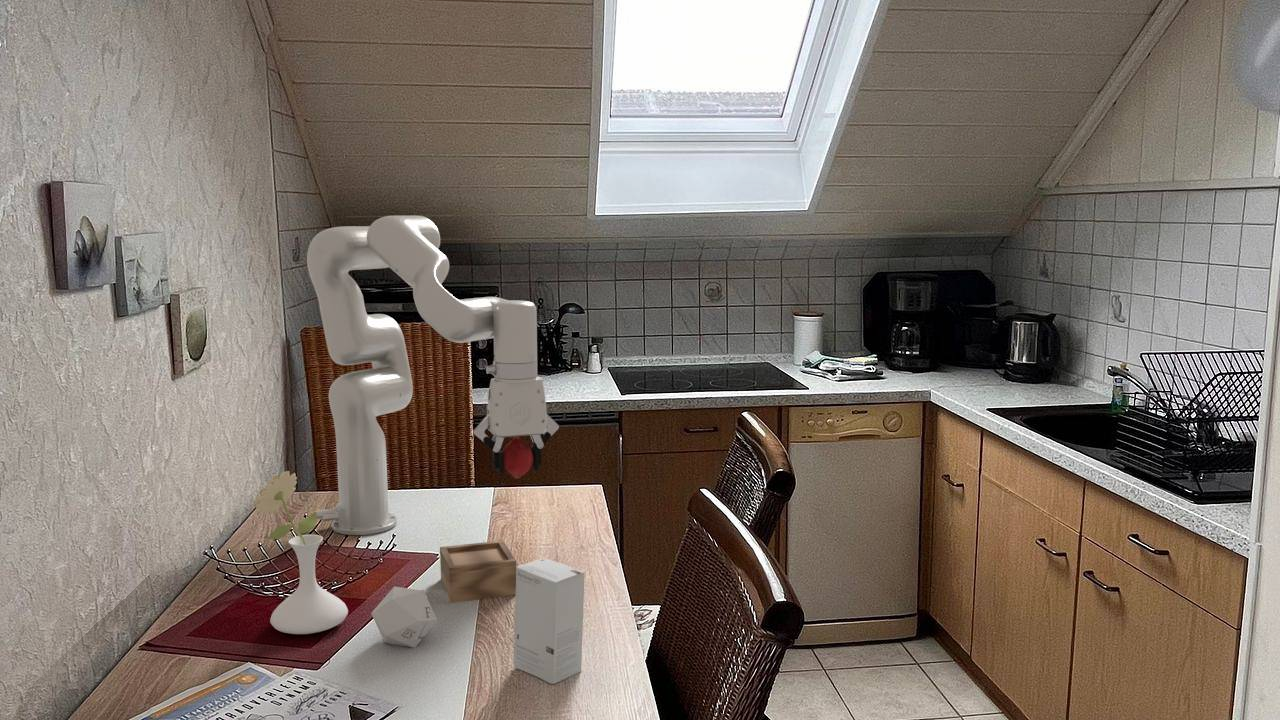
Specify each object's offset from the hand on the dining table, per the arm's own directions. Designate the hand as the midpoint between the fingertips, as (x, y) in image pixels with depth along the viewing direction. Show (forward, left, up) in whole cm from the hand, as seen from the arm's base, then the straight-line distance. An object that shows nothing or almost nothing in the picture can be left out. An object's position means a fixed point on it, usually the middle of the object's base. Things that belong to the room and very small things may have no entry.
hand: (517, 469), depth 178 cm
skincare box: (-5, -43, -18) cm, 47 cm away
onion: (0, 0, -2) cm, 2 cm away
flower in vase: (-37, -17, -18) cm, 44 cm away
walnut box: (-9, -9, -17) cm, 22 cm away
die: (-23, -27, -18) cm, 40 cm away
